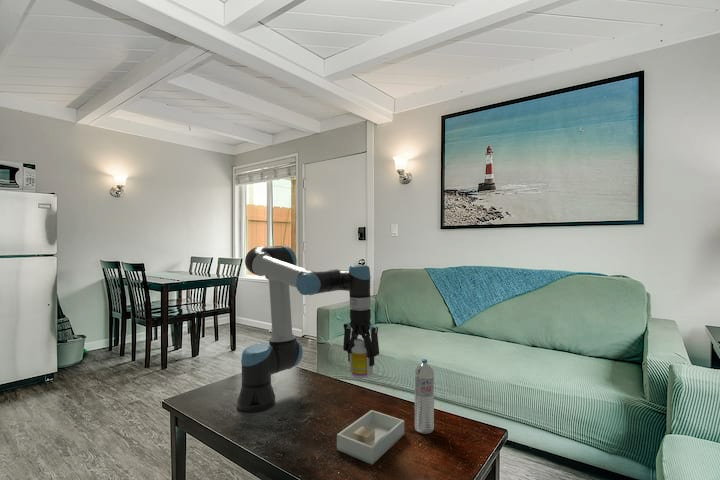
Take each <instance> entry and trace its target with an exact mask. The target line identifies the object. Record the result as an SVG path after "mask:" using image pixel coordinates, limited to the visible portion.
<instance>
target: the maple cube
mask: <svg viewBox="0 0 720 480" xmlns="http://www.w3.org/2000/svg"><path fill="white" fill-rule="evenodd" d="M353 439H354V440H357V441H359V442H362V443H365V444H367V445H370V446H372V445H374V444H375V431H374V430H371V429H369V428H366V427H363V426H362V427H360V428H359V429H358V430H356V431H355V432H354V433H353Z"/></svg>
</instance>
